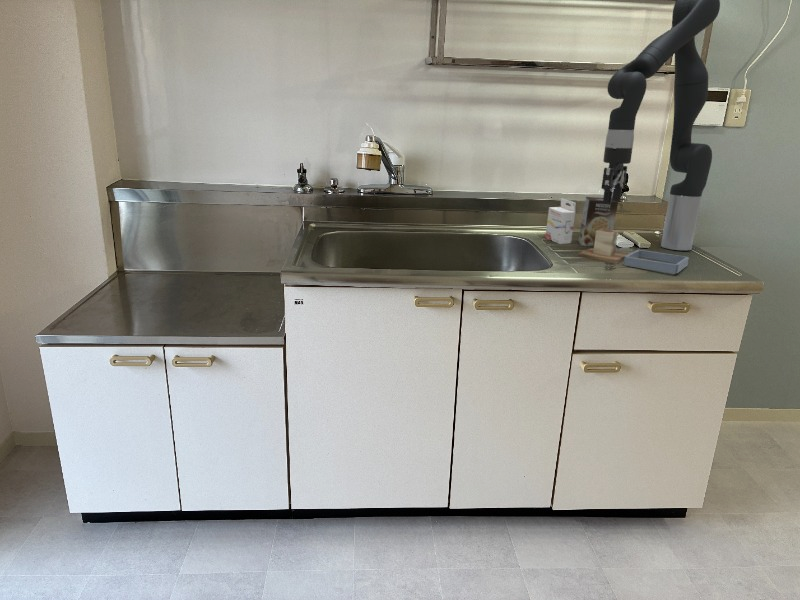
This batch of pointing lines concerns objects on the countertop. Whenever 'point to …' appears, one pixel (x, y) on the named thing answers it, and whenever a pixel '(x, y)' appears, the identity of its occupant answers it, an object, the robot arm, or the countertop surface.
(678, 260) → the bin
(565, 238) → the ink cartridge box
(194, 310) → the countertop surface
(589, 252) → the board
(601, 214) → the coffee box
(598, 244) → the block
